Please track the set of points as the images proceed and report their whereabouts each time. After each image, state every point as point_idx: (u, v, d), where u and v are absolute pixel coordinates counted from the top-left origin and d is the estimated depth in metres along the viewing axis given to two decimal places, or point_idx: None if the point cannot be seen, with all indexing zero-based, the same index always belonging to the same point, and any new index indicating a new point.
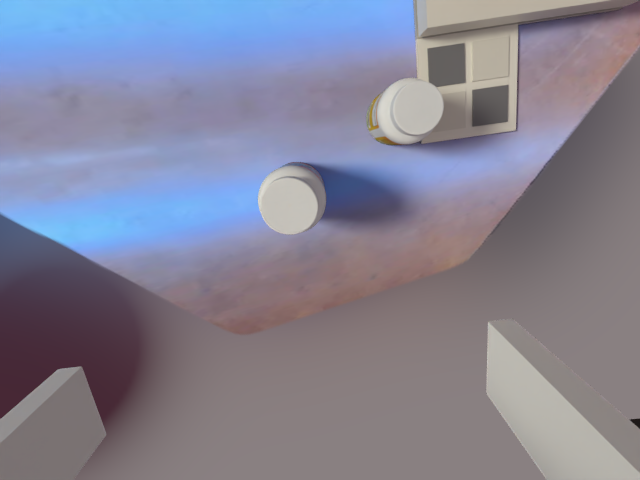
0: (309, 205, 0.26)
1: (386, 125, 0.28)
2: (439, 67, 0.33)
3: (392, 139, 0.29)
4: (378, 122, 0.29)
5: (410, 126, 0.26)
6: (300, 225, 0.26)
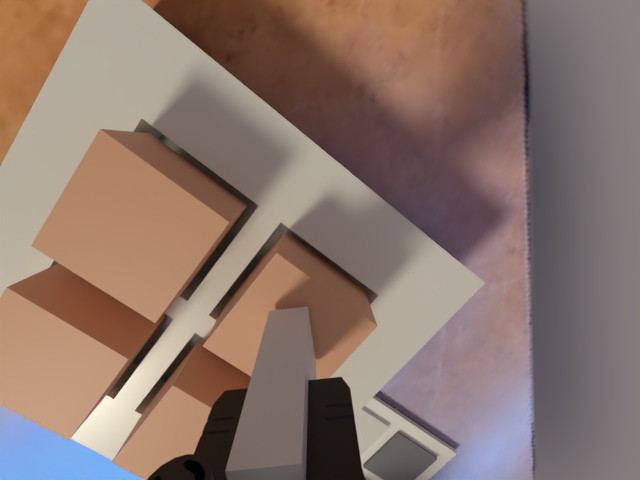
0: None
1: None
2: None
3: None
4: None
5: None
6: None
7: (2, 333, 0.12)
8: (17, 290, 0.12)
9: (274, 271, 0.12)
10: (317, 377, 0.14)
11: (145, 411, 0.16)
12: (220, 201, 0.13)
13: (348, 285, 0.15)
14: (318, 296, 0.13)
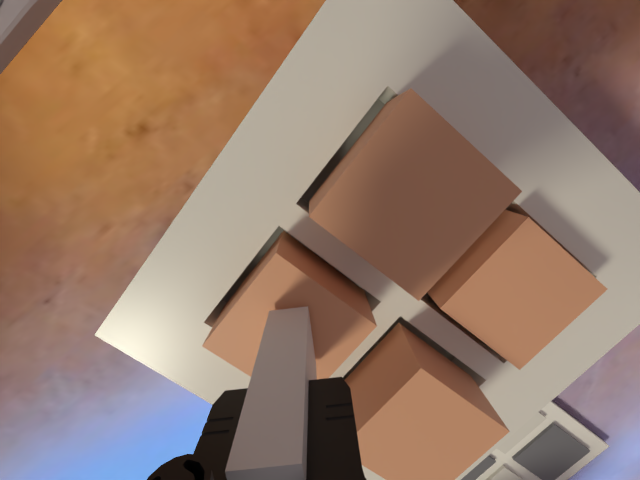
0: None
1: None
2: None
3: None
4: None
5: None
6: None
7: (261, 299, 0.13)
8: (282, 256, 0.12)
9: (522, 235, 0.13)
10: (540, 339, 0.14)
11: None
12: None
13: None
14: (558, 260, 0.13)
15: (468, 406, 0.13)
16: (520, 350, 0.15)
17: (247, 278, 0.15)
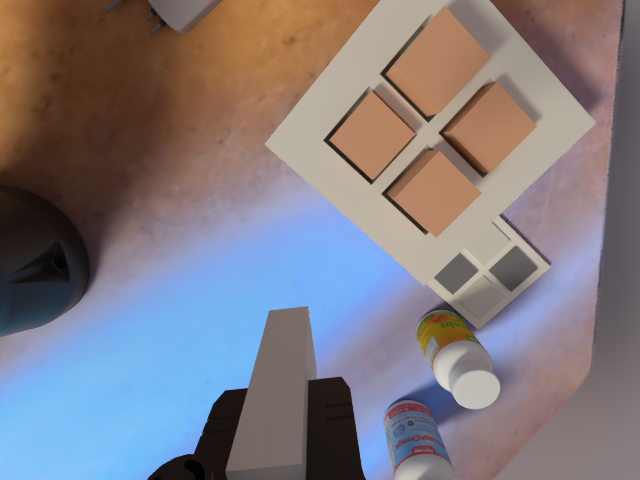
0: None
1: None
2: (449, 278, 0.35)
3: None
4: None
5: (480, 403, 0.28)
6: None
7: (361, 115, 0.27)
8: (373, 93, 0.27)
9: (493, 92, 0.26)
10: (502, 154, 0.28)
11: (395, 188, 0.29)
12: None
13: None
14: (511, 107, 0.27)
15: (461, 175, 0.26)
16: (491, 160, 0.28)
17: None
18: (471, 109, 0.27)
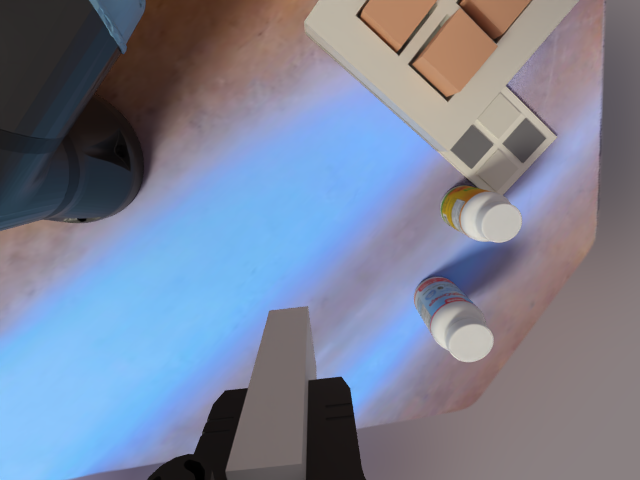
0: (483, 333, 0.34)
1: (481, 238, 0.35)
2: (468, 152, 0.39)
3: (490, 240, 0.36)
4: (472, 238, 0.36)
5: (505, 236, 0.33)
6: (486, 347, 0.34)
7: None
8: None
9: None
10: (512, 15, 0.32)
11: (420, 55, 0.33)
12: None
13: None
14: None
15: (480, 30, 0.30)
16: (503, 21, 0.32)
17: None
18: None
